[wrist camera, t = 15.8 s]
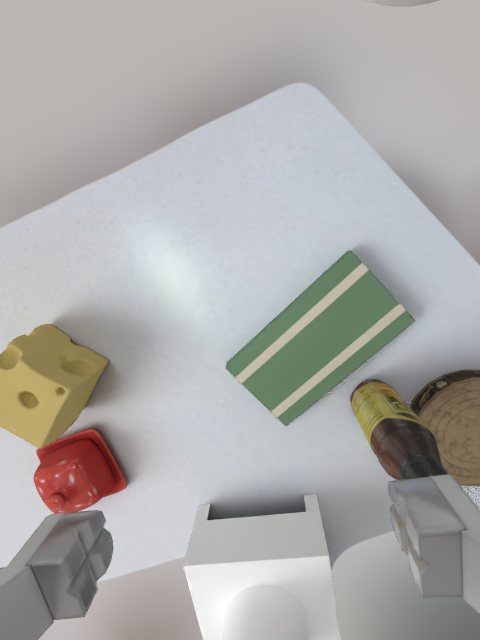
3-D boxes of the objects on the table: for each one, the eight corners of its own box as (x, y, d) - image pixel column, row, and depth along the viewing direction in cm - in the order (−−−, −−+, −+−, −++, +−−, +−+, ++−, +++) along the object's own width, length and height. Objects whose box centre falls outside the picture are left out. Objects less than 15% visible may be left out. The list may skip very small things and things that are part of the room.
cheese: (49, 321, 46) (-8, 342, 36) (115, 360, 46) (76, 392, 37) (22, 377, 48) (-39, 411, 38) (85, 414, 49) (41, 456, 39)
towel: (347, 250, 41) (352, 251, 39) (408, 317, 42) (415, 320, 40) (226, 362, 45) (225, 368, 43) (285, 418, 47) (286, 426, 45)
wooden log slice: (407, 476, 48) (417, 491, 45) (401, 377, 44) (410, 387, 41) (523, 465, 46) (540, 480, 43) (525, 361, 42) (545, 370, 39)
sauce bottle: (402, 400, 45) (508, 519, 26) (365, 425, 46) (439, 556, 27) (374, 366, 44) (461, 463, 25) (337, 393, 45) (392, 504, 26)
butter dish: (100, 421, 49) (67, 458, 41) (133, 482, 51) (108, 528, 43) (38, 444, 51) (-6, 483, 43) (73, 501, 53) (37, 549, 45)
